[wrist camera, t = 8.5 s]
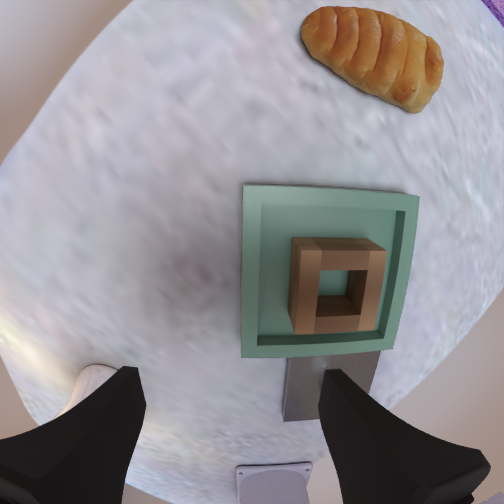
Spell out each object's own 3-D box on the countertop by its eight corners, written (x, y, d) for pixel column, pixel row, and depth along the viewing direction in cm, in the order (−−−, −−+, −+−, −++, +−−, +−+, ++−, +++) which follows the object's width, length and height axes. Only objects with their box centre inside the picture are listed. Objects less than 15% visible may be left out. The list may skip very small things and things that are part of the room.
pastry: (288, 76, 17) (300, 56, 13) (306, -2, 15) (318, -30, 11) (415, 120, 18) (447, 114, 14) (423, 44, 16) (451, 29, 12)
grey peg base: (357, 404, 24) (373, 438, 20) (281, 412, 24) (288, 450, 19) (375, 341, 22) (398, 373, 18) (288, 347, 22) (298, 385, 17)
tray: (382, 335, 22) (392, 348, 20) (240, 342, 21) (241, 358, 19) (404, 193, 19) (419, 196, 17) (243, 183, 18) (243, 185, 16)
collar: (357, 308, 20) (373, 329, 17) (287, 311, 20) (294, 334, 17) (367, 238, 19) (387, 250, 16) (291, 237, 19) (301, 250, 16)
